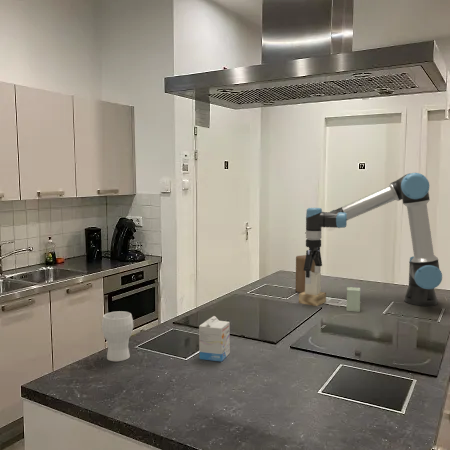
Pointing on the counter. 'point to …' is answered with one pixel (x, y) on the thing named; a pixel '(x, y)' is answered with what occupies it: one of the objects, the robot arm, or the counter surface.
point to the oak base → (312, 299)
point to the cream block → (314, 284)
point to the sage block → (353, 299)
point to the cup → (117, 334)
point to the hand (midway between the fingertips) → (312, 281)
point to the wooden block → (301, 273)
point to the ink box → (214, 340)
